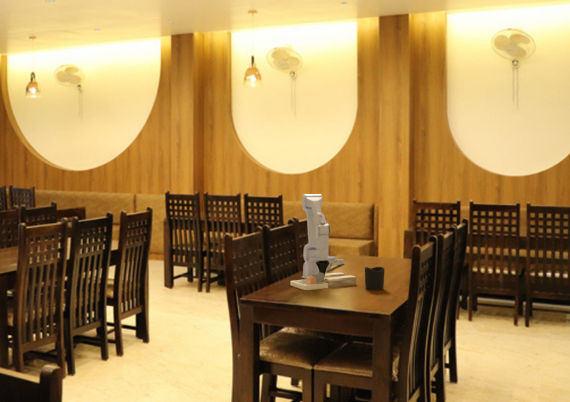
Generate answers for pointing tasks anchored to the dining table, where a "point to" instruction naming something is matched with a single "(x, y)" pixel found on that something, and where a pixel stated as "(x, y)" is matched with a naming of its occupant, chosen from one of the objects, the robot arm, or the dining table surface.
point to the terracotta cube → (311, 280)
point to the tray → (304, 286)
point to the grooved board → (339, 280)
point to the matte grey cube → (318, 276)
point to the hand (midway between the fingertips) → (322, 276)
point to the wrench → (334, 263)
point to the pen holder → (374, 278)
